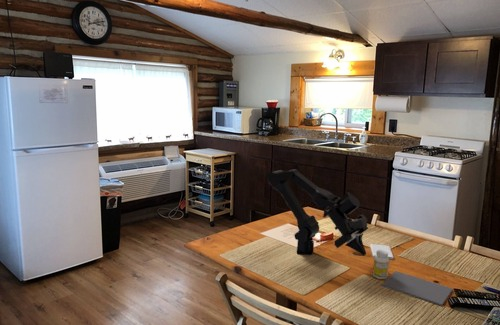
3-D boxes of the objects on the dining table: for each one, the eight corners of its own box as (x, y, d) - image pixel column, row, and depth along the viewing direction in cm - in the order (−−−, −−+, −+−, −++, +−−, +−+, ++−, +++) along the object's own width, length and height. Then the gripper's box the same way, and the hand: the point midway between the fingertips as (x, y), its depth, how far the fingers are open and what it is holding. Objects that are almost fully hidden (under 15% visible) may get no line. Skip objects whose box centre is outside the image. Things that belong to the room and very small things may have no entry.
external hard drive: (389, 249, 173) (393, 260, 161) (370, 247, 174) (373, 258, 162) (389, 245, 172) (393, 256, 160) (370, 243, 174) (373, 254, 162)
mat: (381, 285, 138) (381, 284, 138) (395, 272, 148) (395, 270, 148) (441, 306, 125) (441, 304, 125) (452, 290, 136) (452, 288, 136)
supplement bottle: (384, 280, 141) (386, 256, 140) (370, 276, 145) (372, 252, 143) (389, 275, 146) (392, 251, 144) (376, 271, 149) (378, 247, 147)
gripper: (343, 215, 142) (370, 251, 137) (365, 204, 156) (390, 237, 151) (323, 230, 148) (348, 266, 143) (346, 219, 162) (369, 251, 157)
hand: (365, 254), depth 148 cm, fingers closed
